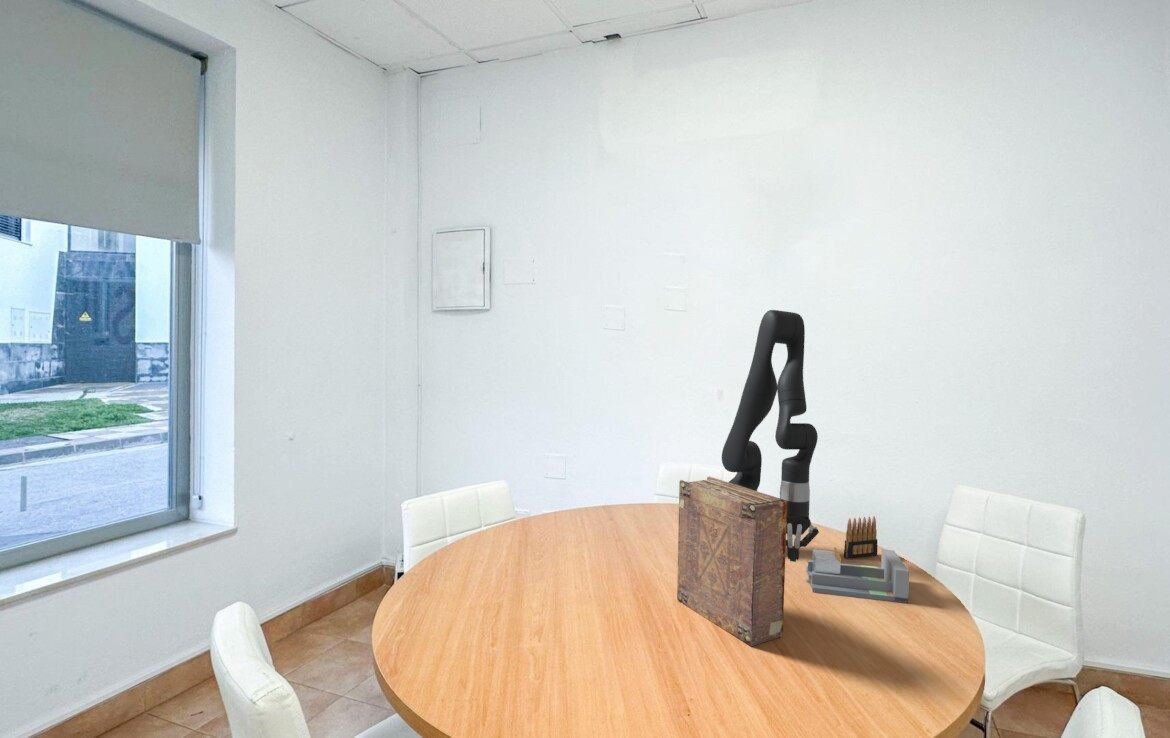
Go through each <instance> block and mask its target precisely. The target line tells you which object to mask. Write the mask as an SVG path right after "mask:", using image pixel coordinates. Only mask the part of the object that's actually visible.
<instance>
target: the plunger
mask: <svg viewBox="0 0 1170 738" xmlns="http://www.w3.org/2000/svg"><path fill="white" fill-rule="evenodd" d="M841 562H842V557H841V556H840V553H839V551H838V549H837V547H833V550H825V549H824V550H823V549H815V548H814V549H812V572H813V573H822V574H832V575H840V565H841V564H842V563H841Z"/></svg>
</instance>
